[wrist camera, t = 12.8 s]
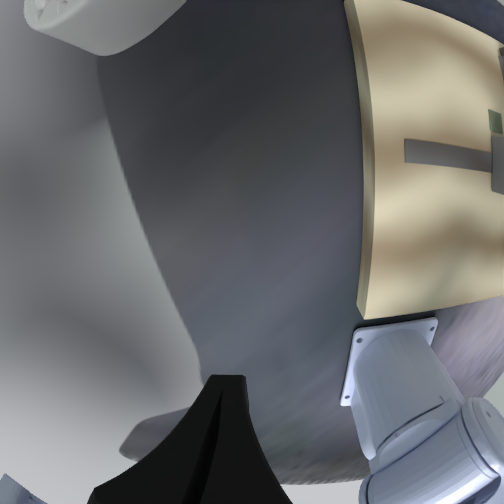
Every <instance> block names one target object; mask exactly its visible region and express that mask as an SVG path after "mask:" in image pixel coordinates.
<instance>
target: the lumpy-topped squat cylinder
mask: <svg viewBox="0 0 504 504" xmlns="http://www.w3.org/2000/svg"><path fill="white" fill-rule="evenodd" d="M186 1H187V0H25V2H24V16H25V19H26V21H27V23H28V24H29V25H30V27H32V28H33V29H34V30H37V31H39V32H42V33H45V34H47V35H50V36H52V37H55V38H57V39H60V40H62V41H65V42H67V43H70V44H72V45H75V46H77V47H79V48H82V49H84V50H86V51H88V52H91V53H93V54H95V55H99V56H108V55H113V54H116V53H119V52H121V51H123V50H125V49H127V48H129V47H131V46H133V45H134V44H136V43H138V42H139V41H141V40H142V39H144V38H145V37H147V36H148V35H150V34H151V33H152V32H153V31H155V30H156V29H157V28H158V27H159V26H160V25H162V24H163V23H164V22H165V21H166V20H167V19H168V18H169V17H170V16H172V15H173V14H174V13H175V12H176V11H177V10H178V9H179V8H180V7H181V6H182V5H183V4H184V3H185V2H186Z"/></svg>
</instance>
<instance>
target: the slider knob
mask: <svg viewBox="0 0 504 504" xmlns="http://www.w3.org/2000/svg"><path fill="white" fill-rule="evenodd" d="M492 150H493V173H492V191H493V192H496V193H499V194H502V195H504V137H500V136H492Z"/></svg>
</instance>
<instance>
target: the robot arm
mask: <svg viewBox="0 0 504 504" xmlns="http://www.w3.org/2000/svg"><path fill="white" fill-rule="evenodd" d="M437 324H438V320H437V319H436V318H435V317H431V318H426V319H420V320H414V321H408V322H401V323H395V324H388V325H380V326H372V327H364V328H358V329H356V330H355V331H354V333H353V339H352V345H351V351H350V356H349V362H348V367H347V372H346V377H345V382H344V386H343V391H342V395H341V400H340V404H341V406H349V405H351V409H352V412H353V416H354V420H355V424H356V428H357V432H358V436H359V440H360V444H361V448H362V451H363V453H364V455H365V456H366V457H367V458H368V459H369V460H370V461H369V466H370V470H371V473H370V474H369V475H368V476H367V477H365V479H364V480H363V482H362V484H361V486H360V490H359V504H504V418H503V416H502V415H501V414H500V413H499V411H498V410H497V409H496V408H495V407H494V406H493V405H492V404H491V403H490V402H489V401H487V400H486V399H484V398H475V397H471V398H469V399H468V400H467V401H465V400H464V398H463V396H462V395H461V393H460V391H459V390H458V388H457V386H456V385H455V383H454V382H453V380H452V378H451V377H450V375H449V374H448V372H447V371H446V369H445V368H444V366H443V364H442V363H441V361H440V360H439V358H438V357H437V355H436V354H435V353H434V351H433V350H432V348H431V347H430V346H431V343H432V340H433V337H434V334H435V331H436V327H437ZM431 327H432V328H431ZM430 328H431V329H430ZM359 338H361V339H360V340H357V339H359ZM0 504H47V503H45V502H44V501H42V500H41V499H39V498H37V497H36V496H34V495H33V494H31V493H30V492H29V491H28V490H27V489H25V488H24V487H23V486H21V485H20V484H19V483H17V482H16V481H15V480H13V479H12V478H11V477H9V476H8V475H7V474H4V475H3V477H2V478H1V480H0ZM87 504H293V503H292V502H291V501H290V499H289V498H288V496H287V495H286V493H285V492H284V490H283V489H282V487H281V486H280V484H279V482H278V480H277V478H276V477H275V475H274V473H273V471H272V470H271V468H270V466H269V464H268V462H267V460H266V458H265V456H264V453H263V451H262V449H261V447H260V444H259V442H258V439H257V437H256V434H255V431H254V428H253V425H252V422H251V418H250V414H249V400H248V393H247V385H246V377H245V376H243V375H211V376H210V377H209V379H208V380H207V382H206V384H205V386H204V387H203V389H202V391H201V392H200V394H199V396H198V397H197V399H196V400H195V402H194V403H193V404H192V406H191V407H190V409H189V410H188V411H187V413H186V414H185V416H184V417H183V418H182V419H181V421H180V422H179V423H178V424H177V425H176V427H175V428H174V429H173V430H172V431H171V432H170V434H169V435H168V436H167V437H166V438H165V439H164V440H163V441H162V442H161V443H160V444H159V445H158V446H157V447H156V448H155V449H153V450H152V451H151V452H150V453H149V454H148V455H146V456H145V457H144V458H143V459H142V460H140V461H139V462H138V463H136V464H135V465H133V466H132V467H131V468H129V469H128V470H126V471H125V472H123V473H122V474H120V475H119V476H117V477H115V478H113V479H111V480H109V481H107V482H105V483H103V484H101V485H99V486H97V487H96V488H94V490H93V492H92V494H91V495H90V497H89V500H88V503H87Z"/></svg>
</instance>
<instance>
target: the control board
mask: <svg viewBox="0 0 504 504" xmlns="http://www.w3.org/2000/svg"><path fill="white" fill-rule="evenodd" d="M344 7H345V11H346V16H347V21H348V25H349V30H350V36H351V41H352V47H353V53H354V60H355V66H356V74H357V82H358V90H359V100H360V111H361V124H362V141H363V172H364V201H363V232H362V250H361V264H360V275H359V285H358V295H357V303H356V305H357V307H358V309H359V311H360V313H361V315H362V317H363V319H364V320H366V319H374V318H382V317H390V316H397V315H404V314H411V313H418V312H424V311H430V310H436V309H441V308H447V307H452V306H457V305H462V304H467V303H472V302H477V301H481V300H486V299H490V298H494V297H498V296H503V295H504V195H502V194H499V193H496V192H493V191H492V173H493V150H492V136H500V137H504V44H502V43H500V42H499V41H497V40H495V39H493V38H492V37H490V36H488V35H486V34H484V33H482V32H480V31H478V30H476V29H474V28H472V27H470V26H468V25H466V24H464V23H462V22H460V21H457V20H455V19H453V18H450V17H448V16H445V15H443V14H440V13H438V12H435V11H432V10H430V9H427V8H424V7H421V6H418V5H415V4H411V3H408V2H405V1H401V0H345V1H344Z"/></svg>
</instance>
